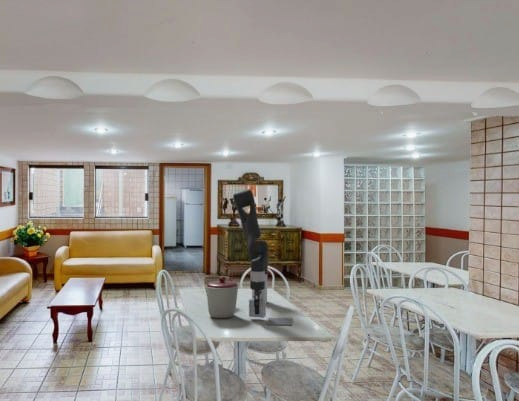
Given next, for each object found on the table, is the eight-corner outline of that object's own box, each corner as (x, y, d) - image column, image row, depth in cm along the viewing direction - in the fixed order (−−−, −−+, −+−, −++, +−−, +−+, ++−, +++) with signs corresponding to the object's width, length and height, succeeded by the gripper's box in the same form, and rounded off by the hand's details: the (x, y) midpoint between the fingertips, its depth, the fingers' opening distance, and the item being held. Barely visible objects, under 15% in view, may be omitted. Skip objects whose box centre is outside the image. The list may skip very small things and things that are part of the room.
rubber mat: (268, 318, 222) (268, 317, 222) (291, 319, 221) (291, 318, 221) (267, 325, 210) (267, 323, 210) (291, 325, 209) (291, 324, 209)
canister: (236, 311, 237) (237, 273, 237) (241, 320, 219) (241, 278, 219) (203, 312, 234) (204, 274, 234) (205, 321, 216) (205, 279, 216)
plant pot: (232, 306, 249) (232, 278, 249) (207, 308, 243) (207, 280, 243) (224, 301, 263) (224, 275, 263) (200, 302, 257) (201, 276, 257)
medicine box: (266, 316, 221) (266, 299, 221) (263, 318, 217) (263, 301, 217) (251, 314, 223) (251, 298, 224) (248, 316, 219) (248, 299, 219)
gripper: (251, 277, 228) (251, 309, 228) (248, 282, 213) (248, 316, 213) (265, 277, 227) (265, 309, 227) (263, 282, 213) (263, 316, 213)
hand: (257, 312), depth 220 cm, fingers closed on medicine box, 5 cm apart
